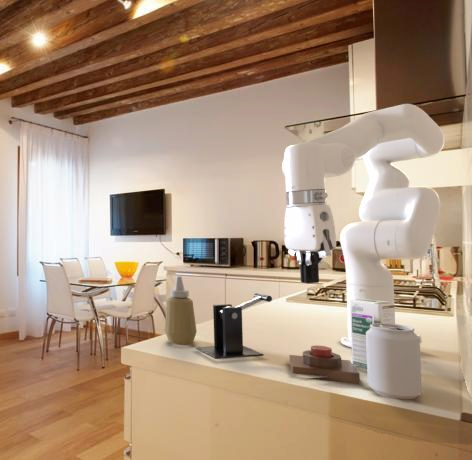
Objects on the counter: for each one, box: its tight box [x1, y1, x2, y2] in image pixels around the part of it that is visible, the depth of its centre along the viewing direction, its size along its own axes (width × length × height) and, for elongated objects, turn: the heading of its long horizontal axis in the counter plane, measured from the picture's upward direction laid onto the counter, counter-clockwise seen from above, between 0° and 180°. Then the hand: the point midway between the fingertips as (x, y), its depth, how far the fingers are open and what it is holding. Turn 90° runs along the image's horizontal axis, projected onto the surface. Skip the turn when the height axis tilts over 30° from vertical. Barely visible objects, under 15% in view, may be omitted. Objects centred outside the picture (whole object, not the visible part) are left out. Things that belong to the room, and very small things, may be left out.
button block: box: [288, 349, 361, 385], centre depth 84 cm, size 11×9×4 cm
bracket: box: [195, 303, 264, 360], centre depth 99 cm, size 12×9×12 cm
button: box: [310, 345, 333, 358], centre depth 84 cm, size 4×4×2 cm
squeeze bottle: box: [164, 276, 197, 345], centre depth 109 cm, size 8×8×18 cm
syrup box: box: [350, 299, 396, 369], centre depth 86 cm, size 6×6×14 cm
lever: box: [218, 292, 273, 320], centre depth 99 cm, size 12×5×2 cm, turn 99°
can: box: [366, 323, 423, 400], centre depth 74 cm, size 8×8×12 cm
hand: (309, 282), depth 91 cm, fingers closed
